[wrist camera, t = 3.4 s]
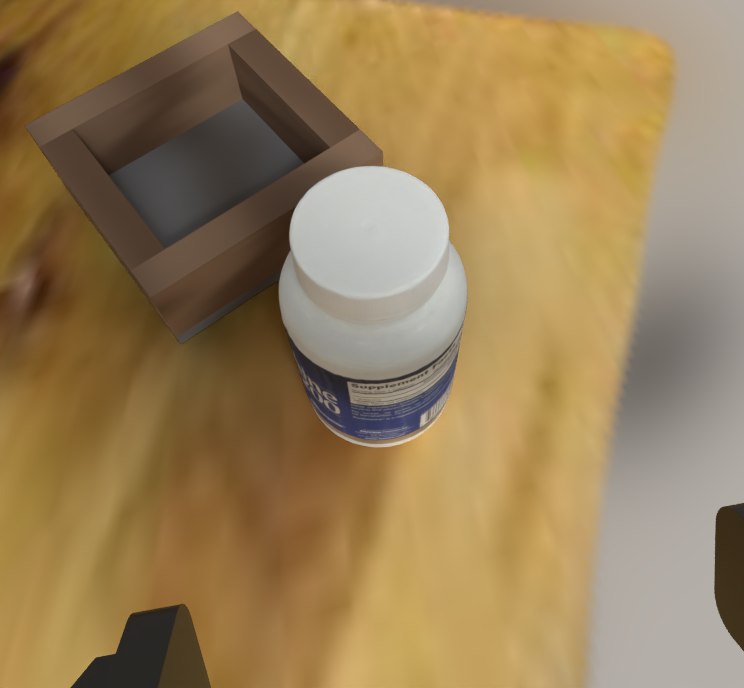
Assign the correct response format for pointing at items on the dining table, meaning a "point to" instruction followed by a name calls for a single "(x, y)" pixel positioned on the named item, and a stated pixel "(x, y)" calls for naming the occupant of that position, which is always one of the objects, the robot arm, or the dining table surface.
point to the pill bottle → (373, 304)
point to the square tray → (200, 167)
